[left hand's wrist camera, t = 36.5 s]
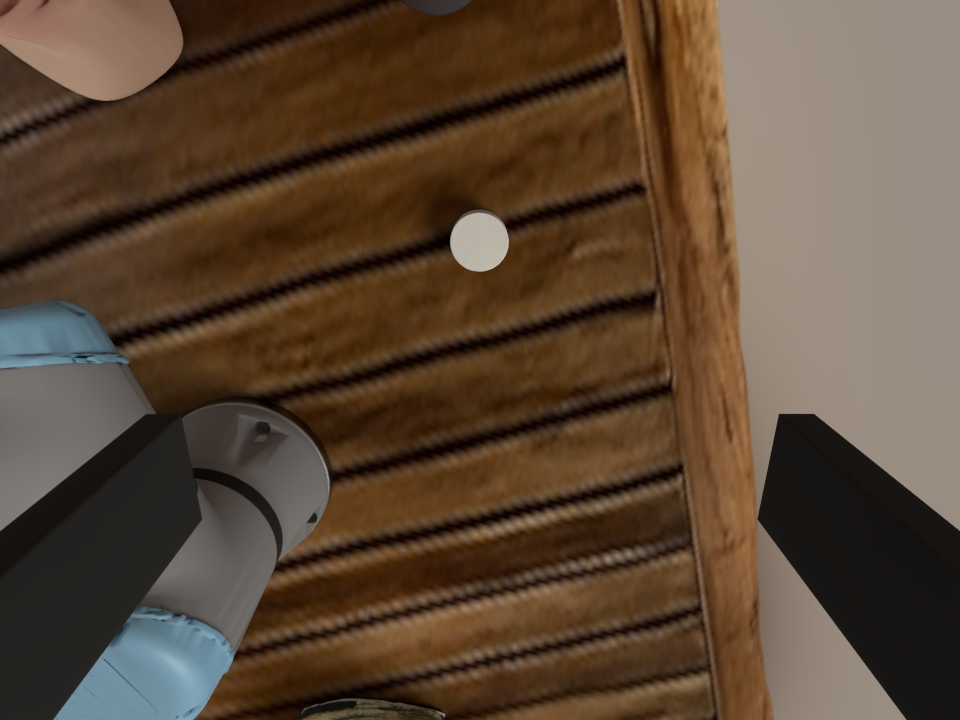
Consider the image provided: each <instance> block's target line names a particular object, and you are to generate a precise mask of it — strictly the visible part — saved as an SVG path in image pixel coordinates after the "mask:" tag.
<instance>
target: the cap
mask: <svg viewBox="0 0 960 720" xmlns="http://www.w3.org/2000/svg"><path fill="white" fill-rule="evenodd" d="M450 246H451V250H452V253H453V256H454V257H455V259H456V260H457V261H458V262H459V263H460V264H461V265H462V266H463V267H465V268H467V269H469V270H472V271H486V270H490V269H492V268H494V267H495V266H497V265H498V264H499V263H500V262H501V261H502V260H503V259H504V257H505V255H506V253H507V250H508V234H507V231H506V228H505V225H504V224H503V222H502V221H501V219H500V218H499V217H498V216H497V215H495V214H494V213H492V212H490V211H487V210H481V209H479V210H472V211H469V212H467V213H465V214H463V215H462V216H461V217H460V218H459V219H458V220H457V222H456V223H455V225H454V227H453V230H452V233H451V238H450Z"/></svg>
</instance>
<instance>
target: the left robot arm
mask: <svg viewBox="0 0 960 720" xmlns="http://www.w3.org/2000/svg"><path fill="white" fill-rule="evenodd" d="M129 363H130V362H129V360H128V359H127V358H126V357H125V356H124V355H121V354H120V353H119V352H118V350H117V349H116V347H115V346H114V344H113V343H112V341H111V340H110V338H109V337H108V336H107V334H106V333H105V331H104V330H103V328H102V327H101V325H100V324H99V322H98V321H97V319H96V318H95V316H94V315H93V314H92V313H91V312H90V311H88V310H87V309H85V308H84V307H82V306H80V305H78V304H75V303H72V302H67V301H45V302H39V303H33V304H27V305H22V306H17V307H12V308H7V309H2V310H0V720H193V719H194V718H195V717H196V716H197V715H198V714H199V713H200V711H201V710H202V709H203V708H204V706H205V705H206V703H207V702H208V700H209V698H210V696H211V695H212V693H213V691H214V689H215V688H216V686H217V684H218V682H219V681H220V679H221V677H222V676H223V675H224V674H225V673H226V672H227V671H228V669H229V667H230V665H231V664H232V660H233V657H234V655H235V653H236V651H237V649H238V646H239V644H240V642H241V640H242V638H243V635H244V633H245V631H246V629H247V627H248V625H249V622H250V620H251V618H252V616H253V614H254V611H255V609H256V607H257V605H258V603H259V601H260V598H261V596H262V594H263V592H264V590H265V588H266V585H267V583H268V581H269V579H270V577H271V574H272V572H273V570H274V568H275V566H276V564H277V562H278V561H279V560H280V559H281V558H282V557H284V556H285V555H286V554H287V553H288V552H289V551H291V550H292V549H293V548H294V547H295V546H296V545H298V544H299V543H300V542H301V541H302V540H303V539H305V538H306V537H307V536H308V535H309V534H310V533H311V531H312V530H313V529H314V528H315V526H316V525H317V524H318V522H319V521H320V519H321V517H322V516H323V514H324V512H325V509H326V507H327V504H328V502H329V499H330V496H331V492H332V483H333V477H332V469H331V464H330V461H329V458H328V455H327V453H326V451H325V449H324V447H323V445H322V444H321V442H320V441H319V439H318V438H317V436H316V435H315V434H314V433H313V432H312V431H311V430H310V429H309V428H308V427H307V426H306V425H305V424H304V423H303V422H302V421H301V420H299V419H298V418H297V417H295V416H294V415H292V414H291V413H289V412H287V411H285V410H284V409H281V408H279V407H277V406H275V405H272V404H269V403H266V402H263V401H259V400H253V399H246V398H227V399H220V400H215V401H211V402H208V403H205V404H203V405H200V406H199V407H197V408H195V409H193V410H192V411H190V412H189V413H187V414H186V415H185V416H184V417H181V414H156V412H155V411H154V409H153V407H152V405H151V404H150V402H149V400H148V399H147V397H146V395H145V393H144V392H143V390H142V388H141V387H140V385H139V383H138V381H137V380H136V378H135V376H134V375H133V373H132V371H131V369H130V368H129V366H128V364H129ZM758 521H759V522H760V523H761V525H762V526H763V527H764V529H765V530H766V531H767V533H768V534H769V535H770V537H771V538H772V539H773V541H774V542H775V543H776V545H777V546H778V547H779V549H780V550H781V552H782V553H783V554H784V556H785V557H786V558H787V560H788V561H789V562H790V564H791V565H792V566H793V568H794V569H795V570H796V572H797V573H798V574H799V576H800V577H801V578H802V580H803V581H804V582H805V584H806V585H807V586H808V588H809V589H810V591H811V592H812V593H813V594H814V596H815V597H816V599H817V600H818V601H819V603H820V604H821V605H822V607H823V608H824V609H825V611H826V612H827V613H828V615H829V616H830V617H831V619H832V620H833V621H834V623H835V624H836V625H837V627H838V628H839V630H840V631H841V632H842V634H843V635H844V636H845V637H846V639H847V640H848V642H849V643H850V644H851V646H852V647H853V648H854V650H855V651H856V652H857V654H858V655H859V656H860V658H861V659H862V660H863V662H864V663H865V664H866V666H867V667H868V668H869V670H870V671H871V673H872V674H873V675H874V677H875V678H876V679H877V681H878V682H879V683H880V685H881V686H882V687H883V689H884V690H885V691H886V693H887V694H888V695H889V697H890V698H891V699H892V701H893V702H894V703H895V705H896V706H897V707H898V709H899V710H900V712H901V713H902V714H903V716H904V717H905V718H906V720H960V531H959V530H958V529H957V528H955V527H954V526H953V525H952V524H950V523H949V522H948V521H947V520H945V519H944V518H943V517H942V516H940V515H939V514H938V513H937V512H935V511H934V510H933V509H932V508H930V507H929V506H928V505H927V504H925V503H924V502H923V501H922V500H920V499H919V498H918V497H917V496H915V495H914V494H913V493H912V492H911V491H909V490H908V489H907V488H906V487H904V486H903V485H902V484H901V483H899V482H898V481H897V480H896V479H894V478H893V477H892V476H891V475H889V474H888V473H887V472H886V471H884V470H883V469H882V468H881V467H879V466H878V465H877V464H876V463H874V462H873V461H872V460H871V459H869V458H868V457H867V456H866V455H864V454H863V453H862V452H861V451H859V450H858V449H857V448H856V447H854V446H853V445H852V444H851V443H849V442H848V441H847V440H846V439H844V438H843V437H842V436H841V435H840V434H838V433H837V432H836V431H835V430H833V429H832V428H831V427H829V426H828V425H827V424H826V423H825V422H823V421H822V420H821V419H820V418H818V417H817V416H816V415H815V414H779V417H778V422H777V427H776V431H775V436H774V441H773V446H772V451H771V456H770V461H769V466H768V471H767V476H766V480H765V485H764V490H763V495H762V500H761V505H760V510H759V515H758Z"/></svg>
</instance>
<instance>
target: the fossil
mask: <svg viewBox="0 0 960 720" xmlns="http://www.w3.org/2000/svg"><path fill="white" fill-rule="evenodd" d="M444 717H445V714H444V713H441V712H439V711H436V710H434V709H427V708H423V707H419V706H414V705H408V704H403V703H392V702H388V701H384V700H372V699H350V698H349V699H340V700H335V701H329V702H326V703H323V704H316V705H313V706H310V707H307V708H304V710H303V712H302V713H301V715H300V716H299V717H298V718H297V719H296V720H444Z"/></svg>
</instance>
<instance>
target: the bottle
mask: <svg viewBox="0 0 960 720" xmlns="http://www.w3.org/2000/svg"><path fill="white" fill-rule="evenodd" d="M402 1H403V2H404V3H405V4H407V5H408V6H410V7H411V8H413V9H415V10H417V11H419V12H422V13H425V14H430V15H444V14H449V13H452V12H455V11H457V10H459V9H461V8H462V7H464V6H465V5H467V4H468V3H469V2H470V1H471V0H402Z"/></svg>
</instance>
